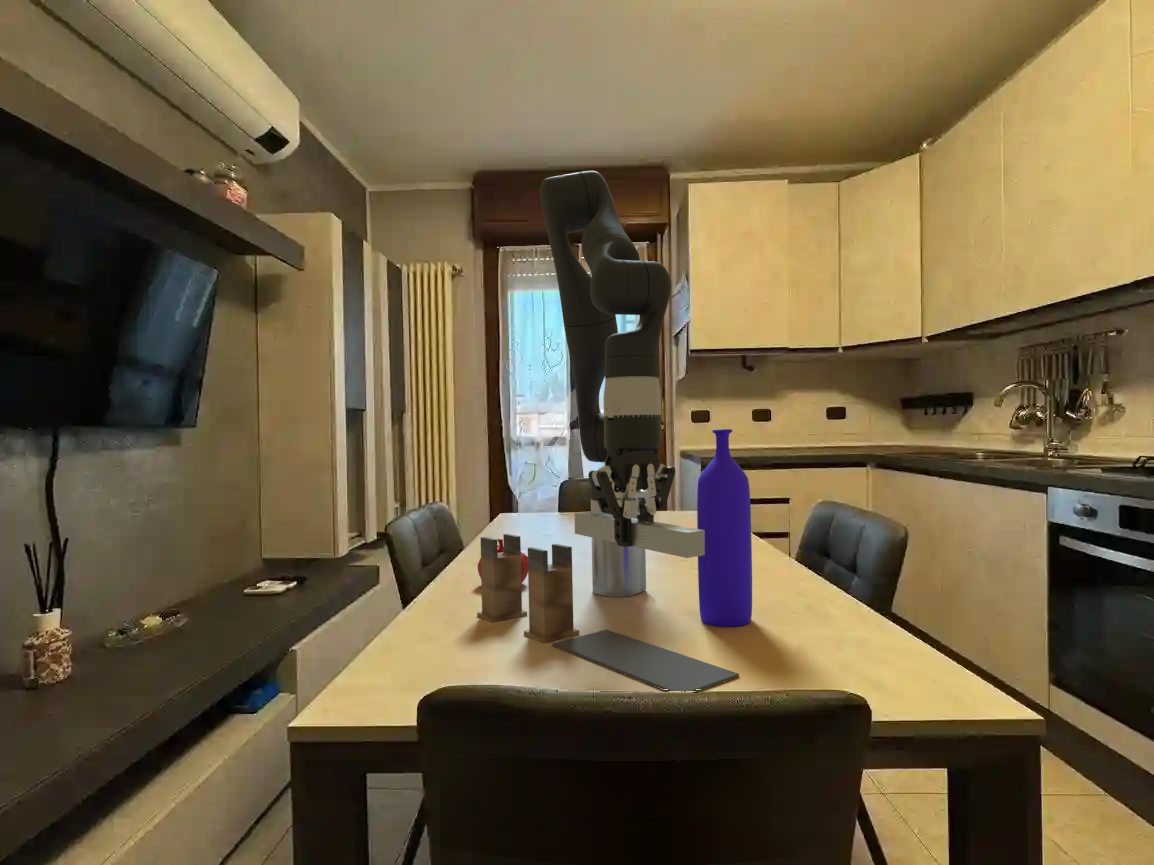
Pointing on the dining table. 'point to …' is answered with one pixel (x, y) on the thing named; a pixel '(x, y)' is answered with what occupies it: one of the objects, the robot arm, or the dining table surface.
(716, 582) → the bottle
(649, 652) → the mat
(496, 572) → the post
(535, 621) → the post
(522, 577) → the pomegranate
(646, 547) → the rail
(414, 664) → the dining table surface
